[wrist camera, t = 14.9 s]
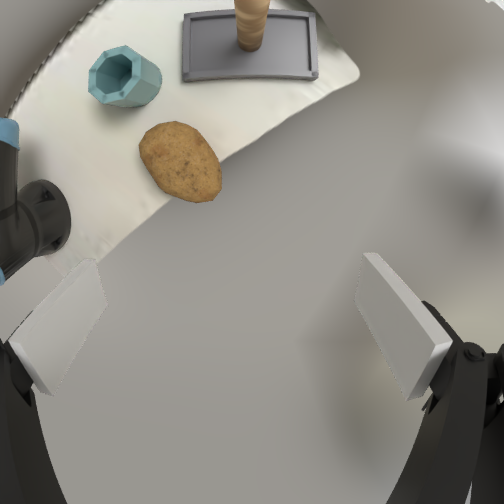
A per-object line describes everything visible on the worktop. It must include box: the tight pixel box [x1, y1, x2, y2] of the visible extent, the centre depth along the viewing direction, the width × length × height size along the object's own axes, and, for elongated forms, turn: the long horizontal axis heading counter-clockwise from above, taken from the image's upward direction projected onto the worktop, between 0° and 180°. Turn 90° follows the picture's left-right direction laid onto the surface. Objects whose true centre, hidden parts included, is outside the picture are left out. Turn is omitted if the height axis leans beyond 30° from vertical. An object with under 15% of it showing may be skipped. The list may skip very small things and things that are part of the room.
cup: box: [88, 45, 162, 107], centre depth 31 cm, size 8×8×10 cm
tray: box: [183, 9, 318, 82], centre depth 33 cm, size 20×12×2 cm, turn 91°
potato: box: [139, 121, 222, 203], centre depth 38 cm, size 10×14×8 cm
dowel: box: [234, 0, 270, 52], centre depth 25 cm, size 4×4×17 cm
